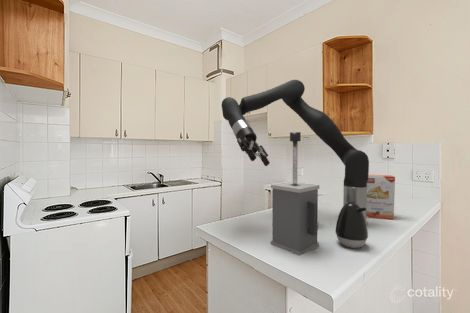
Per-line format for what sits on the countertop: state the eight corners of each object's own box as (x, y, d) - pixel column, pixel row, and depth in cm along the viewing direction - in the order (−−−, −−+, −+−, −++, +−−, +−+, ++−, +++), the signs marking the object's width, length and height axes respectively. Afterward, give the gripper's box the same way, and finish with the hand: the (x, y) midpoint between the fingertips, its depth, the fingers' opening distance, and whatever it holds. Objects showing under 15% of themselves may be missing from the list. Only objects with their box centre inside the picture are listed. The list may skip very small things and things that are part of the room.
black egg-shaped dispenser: (353, 253, 75) (354, 207, 74) (329, 242, 84) (329, 200, 84) (375, 248, 79) (375, 203, 78) (349, 237, 88) (349, 198, 88)
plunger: (292, 208, 87) (292, 133, 86) (310, 213, 81) (311, 132, 80) (279, 212, 82) (279, 132, 81) (297, 217, 76) (298, 131, 75)
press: (291, 235, 90) (291, 181, 89) (324, 247, 79) (325, 186, 79) (270, 244, 82) (270, 184, 82) (305, 258, 72) (305, 190, 71)
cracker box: (361, 217, 115) (361, 175, 114) (359, 213, 120) (360, 173, 120) (394, 220, 110) (395, 176, 109) (391, 216, 115) (392, 174, 114)
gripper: (238, 120, 89) (256, 150, 79) (260, 132, 99) (278, 160, 90) (226, 134, 92) (242, 164, 82) (248, 144, 102) (265, 172, 93)
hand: (261, 162), depth 86 cm, fingers open, 8 cm apart
